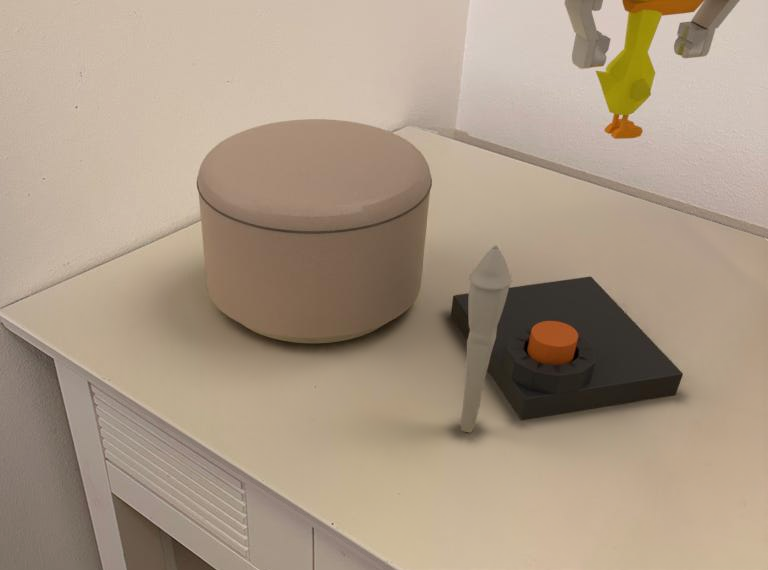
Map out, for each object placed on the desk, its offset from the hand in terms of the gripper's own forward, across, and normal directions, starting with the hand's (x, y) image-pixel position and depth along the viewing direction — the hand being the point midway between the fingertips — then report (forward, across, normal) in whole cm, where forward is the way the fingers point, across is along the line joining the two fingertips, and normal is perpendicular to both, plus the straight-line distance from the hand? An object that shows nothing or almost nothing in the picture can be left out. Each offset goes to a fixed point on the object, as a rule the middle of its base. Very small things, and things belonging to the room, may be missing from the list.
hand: (639, 60), depth 57 cm
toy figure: (+5, 0, 0) cm, 5 cm away
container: (+20, -19, +10) cm, 30 cm away
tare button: (+17, -6, -7) cm, 19 cm away
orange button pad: (+20, -3, -3) cm, 21 cm away
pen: (+20, -13, -10) cm, 26 cm away
